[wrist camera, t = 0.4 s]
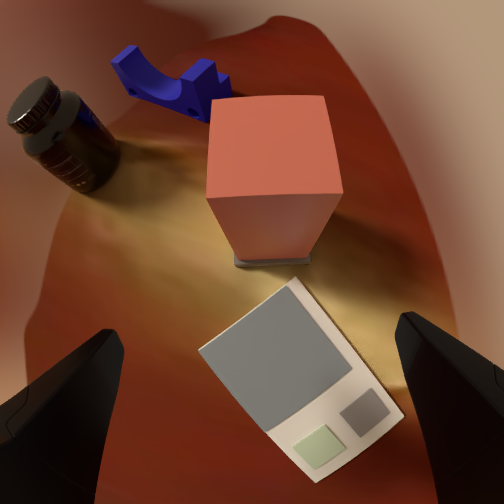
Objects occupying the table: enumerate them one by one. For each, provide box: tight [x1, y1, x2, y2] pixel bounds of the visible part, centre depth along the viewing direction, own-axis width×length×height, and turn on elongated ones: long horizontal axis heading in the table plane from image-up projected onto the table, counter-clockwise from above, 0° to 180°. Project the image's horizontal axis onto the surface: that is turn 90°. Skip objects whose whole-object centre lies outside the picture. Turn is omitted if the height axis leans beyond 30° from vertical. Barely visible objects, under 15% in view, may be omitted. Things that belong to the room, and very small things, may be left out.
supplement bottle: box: [7, 76, 120, 193], centre depth 19 cm, size 7×7×12 cm
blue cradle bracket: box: [110, 45, 232, 123], centre depth 24 cm, size 12×4×6 cm, turn 57°
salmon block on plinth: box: [206, 95, 343, 267], centre depth 16 cm, size 6×6×12 cm
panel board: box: [198, 276, 404, 483], centre depth 19 cm, size 15×9×1 cm, turn 37°
